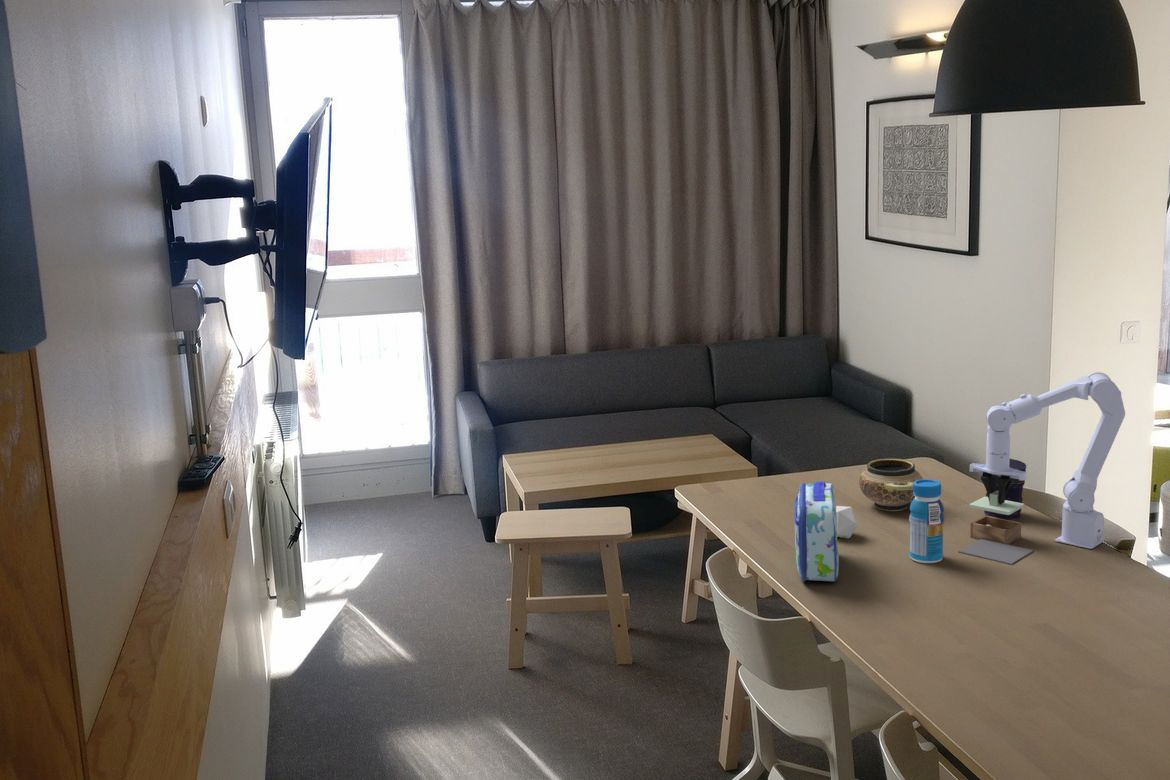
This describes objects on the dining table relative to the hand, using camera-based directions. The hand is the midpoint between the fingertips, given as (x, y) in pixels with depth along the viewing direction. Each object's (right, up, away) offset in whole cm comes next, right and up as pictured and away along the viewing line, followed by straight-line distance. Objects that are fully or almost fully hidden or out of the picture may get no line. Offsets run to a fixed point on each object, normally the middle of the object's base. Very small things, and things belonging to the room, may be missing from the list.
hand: (996, 501), depth 283 cm
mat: (-3, -12, -8) cm, 15 cm away
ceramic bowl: (-19, -5, +31) cm, 37 cm away
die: (-39, -10, +9) cm, 41 cm away
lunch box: (-50, -16, -13) cm, 54 cm away
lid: (0, -1, 0) cm, 1 cm away
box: (0, -10, +2) cm, 10 cm away
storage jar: (+9, -6, +19) cm, 22 cm away
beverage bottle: (-22, -13, -10) cm, 28 cm away
